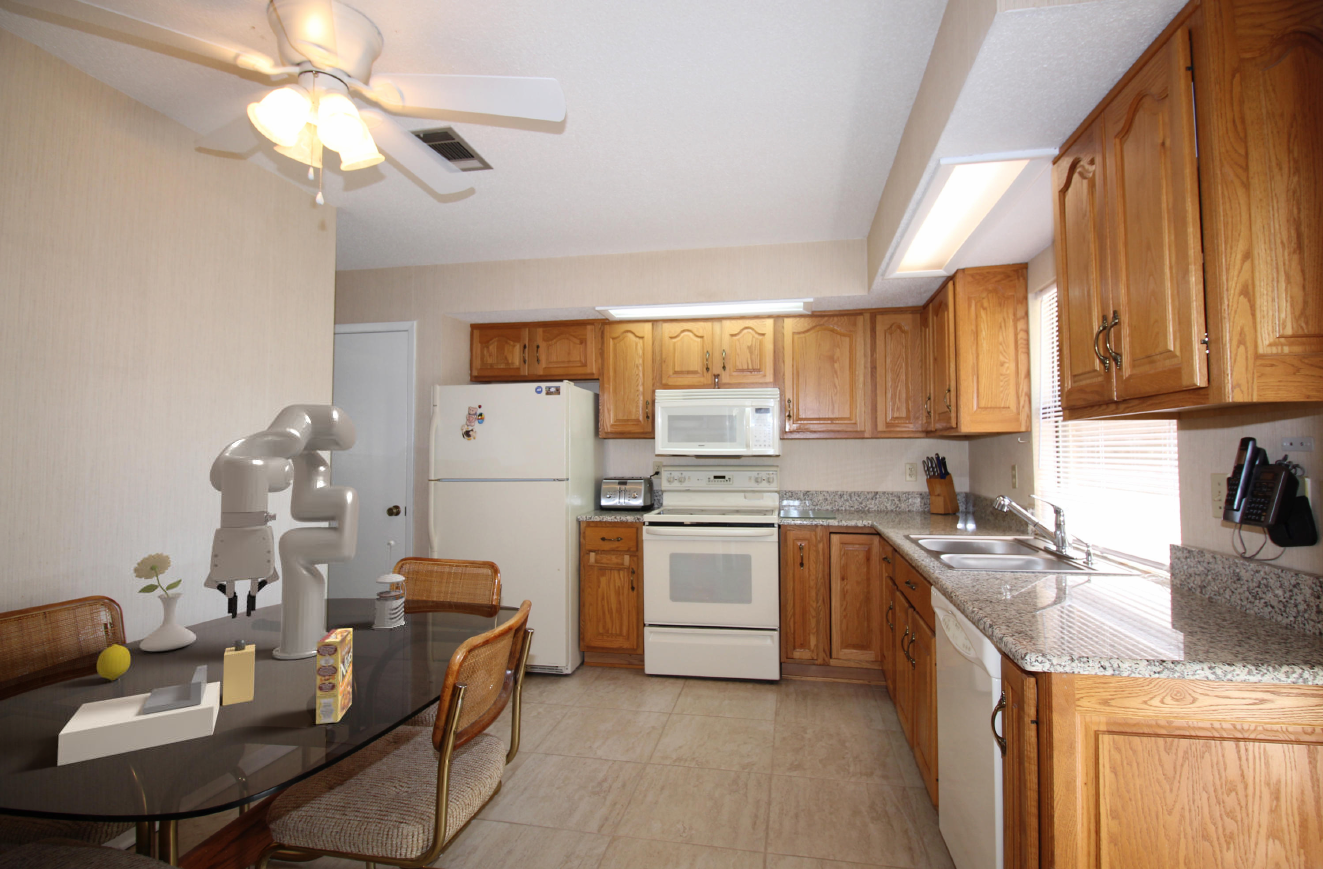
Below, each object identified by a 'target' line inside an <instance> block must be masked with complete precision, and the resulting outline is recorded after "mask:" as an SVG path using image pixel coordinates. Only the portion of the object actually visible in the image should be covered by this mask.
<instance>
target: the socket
mask: <svg viewBox="0 0 1323 869" xmlns="http://www.w3.org/2000/svg"><path fill="white" fill-rule="evenodd" d="M220 691H221V681H215V682H210V683H207V684H206V689H205V692H204V695H203V698H202V702H201V704H197V705H191V706H186V707H180V708H174V709H169V710H163V711H158V712H152V713H146V714H143V707H144V705H145V703H146V702H147V700H148V698H149V696H150V694H151V692H148V693H142V694H135V695H130V696H124V697H117V698H112V699H111V698H110V699H105V700H99V701H98V700H97V701H93V702H87V703H82V704H81V705H80V707H79V708H78V709H77V711H76V712H75V713H74V715H73V716H72V717H71V718H70V720H69V721H68V722H67V723H66V725H65V726H64V727H63V728H62V730H61V731H60V733H58V745H57V746H58V748H57V767H59V766H60V767H61V766H64V765H69V764H74V763H79V762H83V761H89V760H95V759H98V758H104V757H109V756H114V755H119V754H124V753H128V752H129V753H130V752H134V751H139V750H144V749H147V748H153V747H154V748H155V747H158V746H163V745H167V744H169V745H170V744H172V743H177V742H183V741H188V740H193V739H197V738H198V739H199V738H203V737H207V736H213V734H214V730H215V726H216V722H217V719H218V714H219V710H220V698H221V697H220V695H221V694H220V693H221V692H220Z"/></svg>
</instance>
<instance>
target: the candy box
mask: <svg viewBox="0 0 1323 869" xmlns="http://www.w3.org/2000/svg"><path fill="white" fill-rule="evenodd" d="M352 686H353V628H351V627H350V628H349V627H348V628H335V629H334V628H333V629H331V630H330V631H329V632H328V634H327V635H326V636H325V637H323V638H322V639H321V640H320V641H318V642H317V655H316V688H315V689H316V694H315V695H316V702H315V703H316V704H315V705H316V706H315V724H316V725H320V724H329V723H330V724H332V723H339V721H340V720H341V719H342V717H343V716H344V715H345V714H346V712H347V711H348V709H349V708H350V707H351V705H352V702H353V701H352V700H353V691H352V690H353V687H352Z"/></svg>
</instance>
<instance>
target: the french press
mask: <svg viewBox="0 0 1323 869" xmlns="http://www.w3.org/2000/svg"><path fill="white" fill-rule="evenodd" d="M394 545H395V541H394V540H390V541H388V542H387V546H389V548H390V549H389V550H390V552H389V557H390V558H389V559H390V561H389V573H386V574H383V575H380V576H379V577H377V578H376V579H375V580H374V581H375V583H377V584H388V585H389V587H392V586H391V585H392V584H394V585H395V587H399V589H400V590H398V589H396V590H391V589H389V590H383V591H379V592H377V593H376V596H377V597H376V598H375V601H374V602H375V603H374V604H375V605H374V607H375V609H374V624H373V625H372V626H373V627H374V628H393V627H397V626H400V625H404V624H405V622H406V621H405V620H404V619H405V618H404V617H405V616H404V614H405V611H404V610H405V609H404V606H405V600H406V597H407V588H406V584H405V582H404V581H405V580H406V578H405V577H404V576H403V575H401V574H398V573H392V563H391V562H392V546H394ZM402 583H403V587H404V592H403V590H402V587H401V585H402ZM397 584H398V585H397ZM403 593H404V595H403ZM397 597H398V599H397Z"/></svg>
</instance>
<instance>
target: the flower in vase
mask: <svg viewBox="0 0 1323 869" xmlns="http://www.w3.org/2000/svg"><path fill="white" fill-rule="evenodd" d="M171 563H172V560H171V557H170V555H169V554H166V555H165V554H164V553H162V552H161V553H158V552H155V554H149V555H147V557H143V558H142V559H140V561H139V562H137V563H136V566H134V568H133V574H135V578H137V579H140V580H141V579H143V578H144V580H150V579H151V580H152V579H153V578H156V581H157V584H154V583H151V584H147V585H145V586H143V587H142V588H140V590H138V591H137V593H139V594H140V593H141V594H149V593H151V594H152V593H154V592H155V591H156V590H157V589H159V588H160V589H161V590H162V591H163V592H164V593H163V594H159V595H157V598H158V599H159V600H160V602H161V603H162V607H163V621H162V623H161V625H160V626H159V627H158V628H157V629H155V630H154V631H152V633H150V634H148V636H146V637H145V638H144V639H143V640H142V641H141V642H140V644H139V648H140V649H141V650H142V651H147V652H163V651H164V652H165V651H171V650H176V649H180V648H184V647H186V646H188V645H190V644H192V643H194V642H195V641H196V639H197V636H196V634H195V633H194V632H193V631H191V630H190V629H187V628H186V627H184V626H182V625H180V624H179V623H178V622H177V621H176V608H177V604H178V601H179V599H180V597H182V595H183V593H182V592H170V593H169V592H168V591H171V590H173V589H176V588H177V587H179V586H180V584H181V582H182V578H180V579H179V580H176V581H174V582H172V583H169V584H167V586H166V587H165V588H164V587H163V586H162V585H161V583H160V578H159V576H160V575H163V574H166V571H168V570H169V568H171V566H172V564H171Z"/></svg>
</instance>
